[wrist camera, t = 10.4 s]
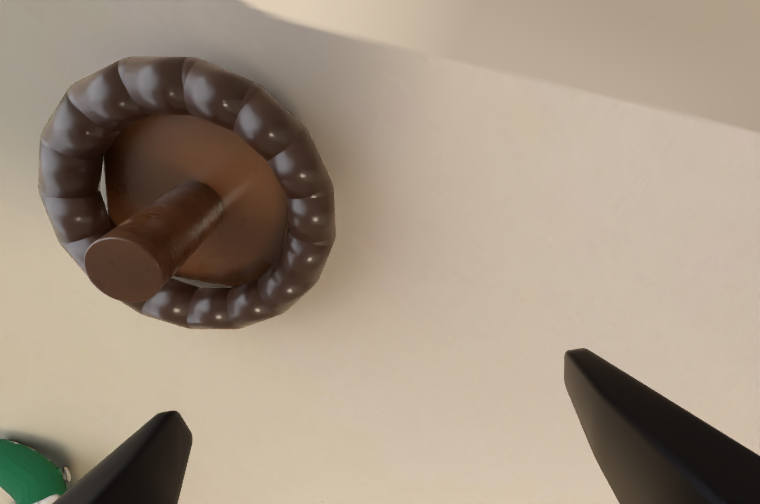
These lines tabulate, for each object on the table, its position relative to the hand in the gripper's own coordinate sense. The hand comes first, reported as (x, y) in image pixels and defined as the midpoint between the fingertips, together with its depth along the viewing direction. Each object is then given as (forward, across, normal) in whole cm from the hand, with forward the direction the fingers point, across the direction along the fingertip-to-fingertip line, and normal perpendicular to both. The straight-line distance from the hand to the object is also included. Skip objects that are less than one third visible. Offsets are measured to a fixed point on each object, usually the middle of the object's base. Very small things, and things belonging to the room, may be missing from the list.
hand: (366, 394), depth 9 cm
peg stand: (+12, +8, -2) cm, 14 cm away
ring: (+9, +7, -2) cm, 12 cm away
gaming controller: (+12, +27, +16) cm, 33 cm away
